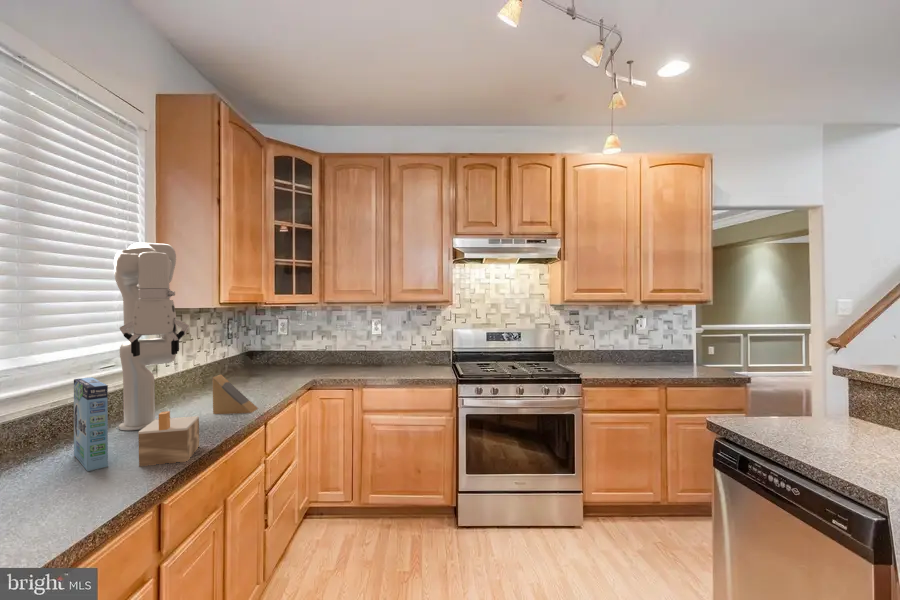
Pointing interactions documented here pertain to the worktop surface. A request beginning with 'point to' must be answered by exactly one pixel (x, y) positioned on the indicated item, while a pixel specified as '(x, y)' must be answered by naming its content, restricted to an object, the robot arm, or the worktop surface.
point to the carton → (168, 446)
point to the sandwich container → (229, 398)
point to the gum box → (91, 423)
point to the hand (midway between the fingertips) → (155, 355)
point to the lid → (168, 424)
